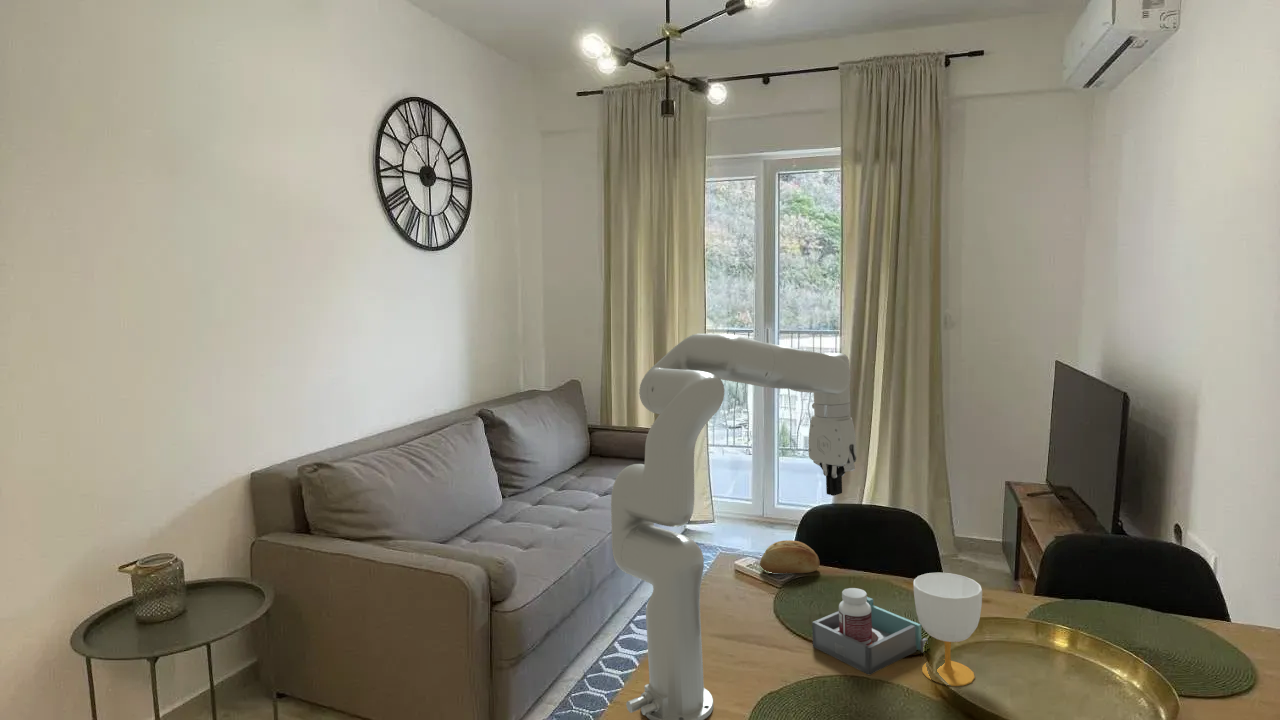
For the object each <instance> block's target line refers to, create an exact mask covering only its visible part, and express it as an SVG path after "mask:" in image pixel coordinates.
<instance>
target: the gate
mask: <svg viewBox="0 0 1280 720" xmlns="http://www.w3.org/2000/svg"><path fill="white" fill-rule="evenodd" d="M866 602H867V603H869V605H870V606H871V619H872V626H873V627H875V628H877V629H880V630H882V631H884V632H887V633H889V634H893V633H896V632H898V631H900V630H902V629H904V628H906V627H908V626H910V625H913V626H915V644H916V650H918V651H920V640H921V639H922V625H921V624H920V623H918V622H916V621H913V620H910V619H909V618H907V617H903V616H901V615H898V614H896V613H893V612H891V611H889V610H886V609H884V608H881V607H879V606H877V605H874V598H871V597H868V596H867V601H866Z"/></svg>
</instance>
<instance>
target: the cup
mask: <svg viewBox="0 0 1280 720" xmlns="http://www.w3.org/2000/svg"><path fill="white" fill-rule="evenodd" d="M913 595H914V604H915V612H916V616H917V619H918V622H919V624H921V628H923V630H924V631H925V632H926V633H927V634H928V635H929V636H930V637H932V638H934V639H936V640H938V641H941V642H943V643H944V646H943V647H944V660H945V663H944V664H943V665H942V666H940V667H939V668H938V669H937V672H938V673H939V675H940V676H941V677H942V678H943V679H944V680H945V681H946V682H947V683H948V684H949V685H951V686H950V687H962V686H963V687H964V686H967V685H969V684H972V683H973V682H974V680H975V678H976V677H975V672H974V671H973V670H972V669H970V667H968V666H966V665H965V664H962V663H961V662H958V661H955V660H954V661H953V660H952V658H951V654H952V653H951V651H952V643H958V642H963V641H965V640H967V639H969V638H970V637H971V636H972V634H974V632H975V631H976V629H977V628H978V625H979V623H980V618H981V612H982V604H983V590H982V586H981V584H980V583H978V582H977V581H976V580H975V579H972V578H969V577H967V576H964V575H961V574H956V573H951V572H949V573H948V572H929V573H928V572H927V573H924V574H921V575H917V577H915V578H914V580H913ZM926 663H927V662H925V663H924V664H923V665H922V667H921V670H922V674H924V676H925V678H927V679H928V680H930V681H932V680H931V678H930V676H929V674H928V671H927V667H926Z"/></svg>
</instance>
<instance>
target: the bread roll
mask: <svg viewBox="0 0 1280 720" xmlns="http://www.w3.org/2000/svg"><path fill="white" fill-rule="evenodd" d="M760 566H761V567H762V568H763V569H764V570H766V571H769V572H772V573H783V574H806V573H813V572H815V571H816V570H818V569H819V568H820V559H819V556H818V554H817V553H816V552H815V550H814V549H812V548H811V547H810V546H809V545H807V544H806V543H804V542H802V541H798V540H793V539H792V540H791V539H788V540H787V539H786V540H778V541H776V542H774V543H772V544H771V545H769V546H767V548H766V549H765V550H764V553H763V554H762V556H761V558H760V562H759V567H760ZM761 567H760V568H761Z"/></svg>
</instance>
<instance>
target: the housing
mask: <svg viewBox="0 0 1280 720" xmlns="http://www.w3.org/2000/svg"><path fill="white" fill-rule="evenodd" d="M811 627H812V647H813V648H815V649H817V650H819V651H821V652H822V653H825V654H827V655H829V656H830V657H832V658H834V659H837V660H839V661H840V662H842V663H845V665H848V666H850V667H852V668H854V669H856V670H859V672H863V673H864V674H866V675H868V676H870V675H872V674H874V673H877V672H878V671H880V670H883V669H884V668H886V667H888V666H890V665H892V664H894V663H896V662H898V661H901V660H902V659H903V658H905V657H908V656H909V655H911V654H914V653H916V652H917V649H916V644H915V626H913V625H910V626H908V627H906V628H904V629H902V630H900V631H898V632H896V633H893V634H889V633H887V632H884V631H882V630H880V629H877V628H875V627H873V626H872V644H870V645H866V644H863V643H861V642H859V641H857V640H855V639H853V638H851V637H848V636H846V635H844V634H842V633H840V631H839V610H838V611H835V612H833V613H831V614H828V615H826V616H824V617H821V618H818V619H817V620H814V621H812V622H811ZM926 641H927V642H928V638H927V637H924V638H921V640H920V650H919V651H920V653H922V654H924V653H923V647H924V644H925V642H926Z"/></svg>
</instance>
